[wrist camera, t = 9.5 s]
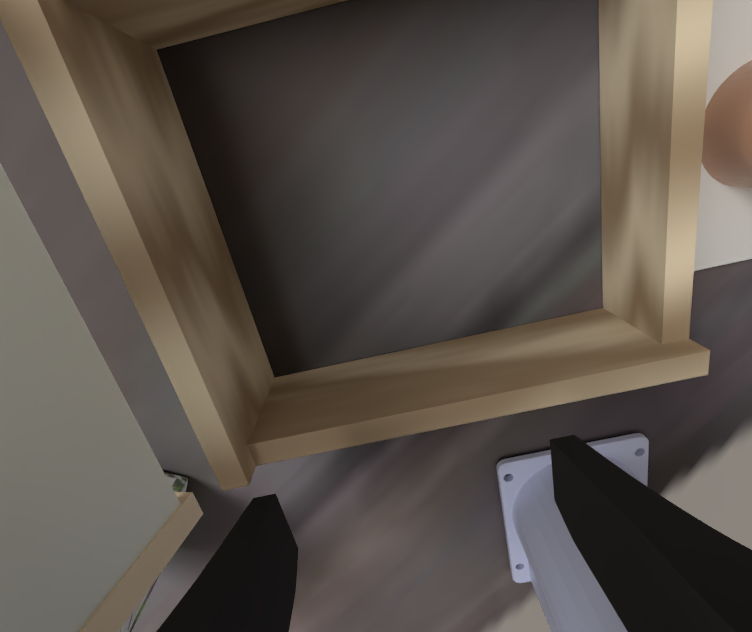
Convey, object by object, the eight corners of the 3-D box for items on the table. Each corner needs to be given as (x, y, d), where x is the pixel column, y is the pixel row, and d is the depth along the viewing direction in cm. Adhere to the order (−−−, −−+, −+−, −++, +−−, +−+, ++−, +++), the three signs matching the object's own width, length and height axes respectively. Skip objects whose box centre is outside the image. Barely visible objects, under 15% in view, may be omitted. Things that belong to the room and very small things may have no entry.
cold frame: (624, 322, 19) (731, 389, 14) (261, 398, 20) (222, 491, 15) (627, -110, 13) (815, -302, 8) (118, 24, 14) (-38, -62, 9)
